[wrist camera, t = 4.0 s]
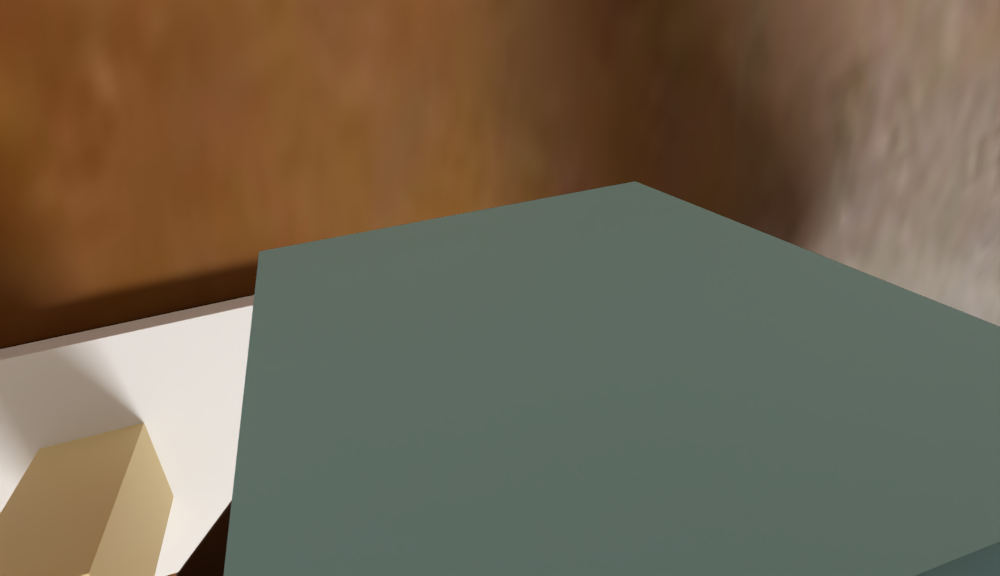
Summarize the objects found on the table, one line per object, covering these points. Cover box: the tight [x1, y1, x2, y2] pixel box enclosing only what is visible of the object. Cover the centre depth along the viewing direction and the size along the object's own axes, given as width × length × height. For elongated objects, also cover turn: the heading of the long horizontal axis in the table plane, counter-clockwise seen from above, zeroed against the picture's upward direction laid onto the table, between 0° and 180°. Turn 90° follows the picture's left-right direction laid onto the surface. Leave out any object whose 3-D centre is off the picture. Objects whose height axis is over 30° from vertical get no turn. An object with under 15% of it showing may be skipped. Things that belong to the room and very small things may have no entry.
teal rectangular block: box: [223, 181, 1000, 576], centre depth 7 cm, size 5×5×7 cm
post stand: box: [0, 295, 254, 576], centre depth 16 cm, size 12×8×6 cm, turn 96°
